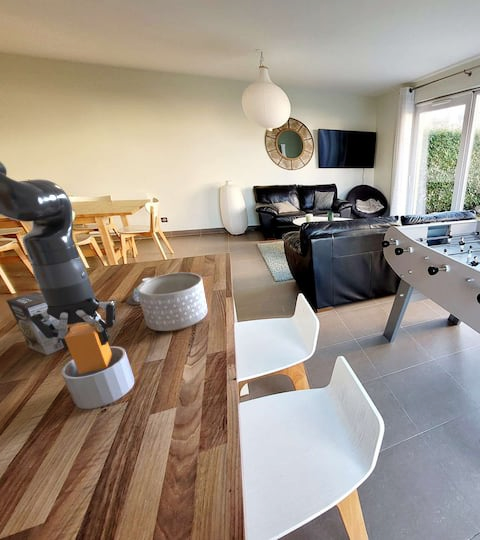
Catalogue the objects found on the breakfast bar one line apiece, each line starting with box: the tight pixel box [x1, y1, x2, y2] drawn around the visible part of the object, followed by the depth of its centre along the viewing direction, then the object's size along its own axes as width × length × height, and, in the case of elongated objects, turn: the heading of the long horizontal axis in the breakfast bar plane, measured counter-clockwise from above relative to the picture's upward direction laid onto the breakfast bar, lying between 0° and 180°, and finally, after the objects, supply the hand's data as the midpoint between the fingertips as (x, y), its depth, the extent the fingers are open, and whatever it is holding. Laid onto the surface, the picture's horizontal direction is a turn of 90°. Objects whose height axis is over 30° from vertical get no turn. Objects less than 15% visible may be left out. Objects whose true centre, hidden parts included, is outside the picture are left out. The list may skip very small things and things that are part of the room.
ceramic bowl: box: [61, 345, 136, 410], centre depth 70 cm, size 11×11×9 cm
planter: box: [136, 272, 209, 332], centre depth 99 cm, size 19×19×14 cm
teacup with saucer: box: [126, 277, 152, 307], centre depth 114 cm, size 12×12×8 cm
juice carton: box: [64, 323, 112, 374], centre depth 67 cm, size 5×5×10 cm
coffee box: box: [5, 291, 65, 356], centre depth 83 cm, size 9×6×16 cm
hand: (89, 345), depth 66 cm, fingers closed on juice carton, 5 cm apart
